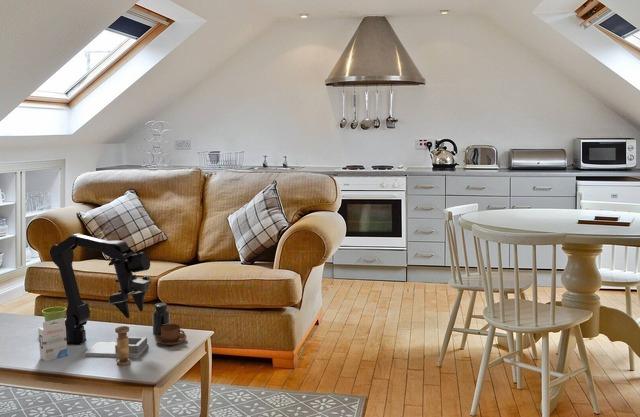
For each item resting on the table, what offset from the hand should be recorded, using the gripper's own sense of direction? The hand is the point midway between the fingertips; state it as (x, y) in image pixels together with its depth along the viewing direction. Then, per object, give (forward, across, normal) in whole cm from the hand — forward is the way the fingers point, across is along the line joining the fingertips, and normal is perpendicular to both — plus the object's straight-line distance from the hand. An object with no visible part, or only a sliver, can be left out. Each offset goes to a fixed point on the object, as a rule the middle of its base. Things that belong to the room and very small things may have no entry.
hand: (134, 314), depth 258 cm
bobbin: (+14, -14, 0) cm, 20 cm away
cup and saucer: (+16, +11, -5) cm, 20 cm away
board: (+12, -4, +9) cm, 15 cm away
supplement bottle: (+13, +20, +4) cm, 24 cm away
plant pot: (+3, +11, +47) cm, 48 cm away
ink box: (+8, -16, +27) cm, 32 cm away
